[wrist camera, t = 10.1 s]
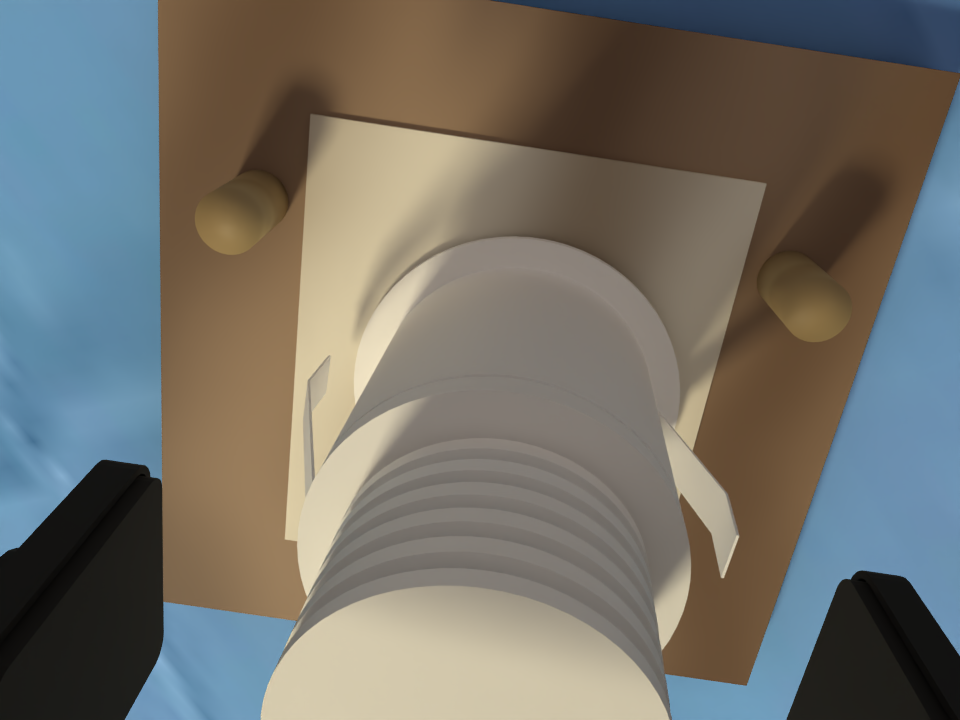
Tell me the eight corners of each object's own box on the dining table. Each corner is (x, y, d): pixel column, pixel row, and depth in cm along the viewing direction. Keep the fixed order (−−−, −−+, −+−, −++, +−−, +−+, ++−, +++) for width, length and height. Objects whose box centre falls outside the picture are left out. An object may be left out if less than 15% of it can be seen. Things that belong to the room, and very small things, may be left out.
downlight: (742, 276, 17) (950, 579, 8) (651, 556, 20) (726, 1027, 10) (358, 196, 17) (117, 401, 8) (320, 485, 20) (107, 888, 11)
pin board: (932, 69, 17) (1020, 82, 14) (735, 652, 22) (767, 749, 20) (181, -48, 16) (108, -60, 13) (180, 572, 22) (129, 658, 19)
